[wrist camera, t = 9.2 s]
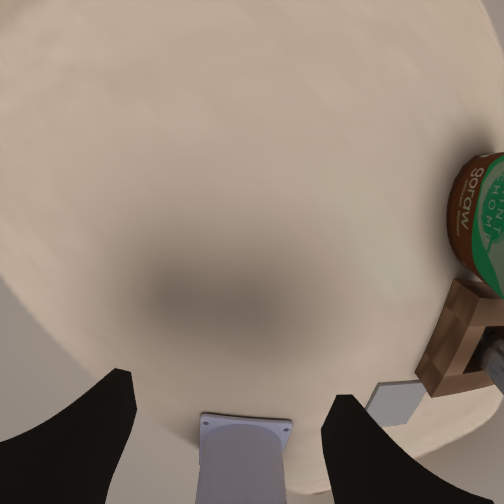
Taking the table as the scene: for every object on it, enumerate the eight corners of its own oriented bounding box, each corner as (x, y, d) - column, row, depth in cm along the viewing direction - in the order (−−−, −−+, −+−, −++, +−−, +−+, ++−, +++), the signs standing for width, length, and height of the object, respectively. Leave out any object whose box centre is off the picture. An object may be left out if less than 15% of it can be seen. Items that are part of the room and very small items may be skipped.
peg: (471, 343, 20) (522, 401, 12) (451, 343, 20) (504, 408, 12) (484, 315, 20) (542, 369, 11) (464, 314, 19) (526, 374, 11)
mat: (404, 421, 23) (406, 423, 23) (354, 426, 23) (355, 429, 23) (430, 378, 22) (432, 381, 21) (378, 383, 21) (379, 385, 21)
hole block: (476, 365, 21) (493, 384, 18) (414, 372, 21) (431, 397, 18) (511, 286, 19) (534, 301, 15) (453, 278, 18) (479, 297, 15)
